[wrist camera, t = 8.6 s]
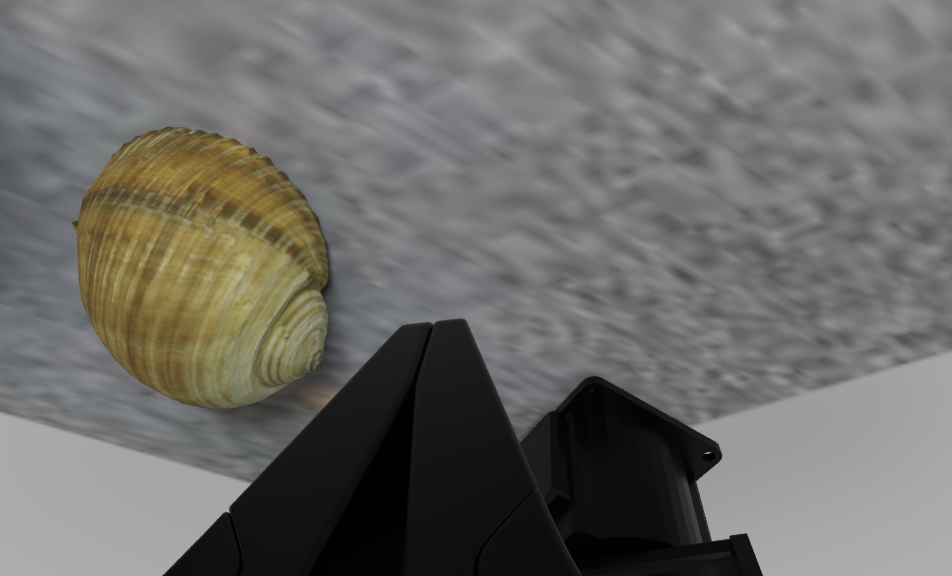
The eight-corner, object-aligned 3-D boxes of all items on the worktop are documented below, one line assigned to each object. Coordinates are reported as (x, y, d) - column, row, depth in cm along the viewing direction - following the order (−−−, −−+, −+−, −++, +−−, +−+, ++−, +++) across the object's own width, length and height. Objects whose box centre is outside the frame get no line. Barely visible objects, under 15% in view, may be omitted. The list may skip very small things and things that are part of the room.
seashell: (174, 168, 27) (52, 344, 24) (97, 52, 20) (-82, 276, 18) (394, 267, 27) (295, 458, 24) (389, 180, 20) (250, 432, 17)
